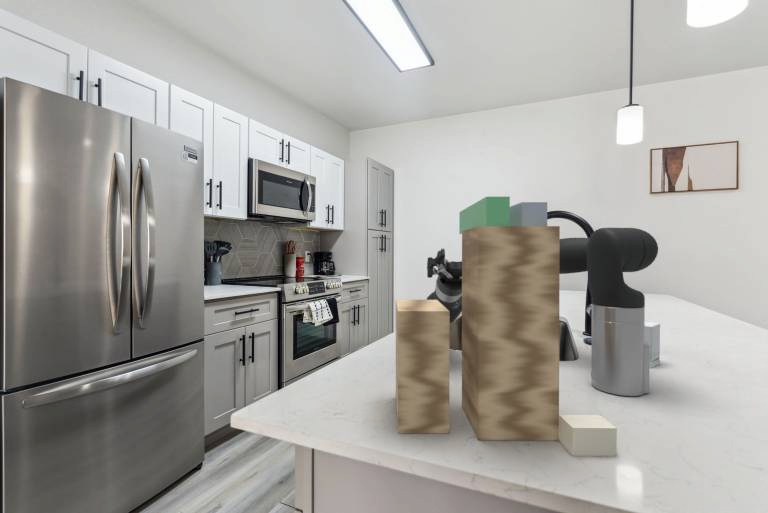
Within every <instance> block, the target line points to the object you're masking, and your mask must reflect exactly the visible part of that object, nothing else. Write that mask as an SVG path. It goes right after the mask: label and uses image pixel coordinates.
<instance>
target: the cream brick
mask: <svg viewBox="0 0 768 513" xmlns="http://www.w3.org/2000/svg"><path fill="white" fill-rule="evenodd" d="M617 430H618V428H617V427H616V426H614V424H612V423H611V422H609V421H608V420H606V419H605V418H604V417H603V416H601V415H600V414H597V415H596V414H591V415H589V414H559V440H558V441H559V442H560V443H561V444H562V445H563V447H564V448H565V449H566V450H567V451H568V453H570V454H571V456H573V457H575V456H577V457H593V456H594V457H617V456H618V455H617V454H618V453H617V452H618V451H617V449H618V448H617V435H618V434H617V432H618V431H617Z"/></svg>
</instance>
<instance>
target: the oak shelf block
mask: <svg viewBox="0 0 768 513" xmlns="http://www.w3.org/2000/svg"><path fill="white" fill-rule="evenodd" d="M560 227H561V226H559V225H550V226H549V225H547V226H478V227H475V228H472V229H468V230H465V231H462V234H461V261H462V312H461V408H462V410H463V411H464V413H465V416H466V418H467V420H468V421H469V424H470V426H471V428H472V430H473V432H474V434H475V436H476V438H477V440H478V441H559V415H560V274H559V267H560V239H561V238H560V236H561V235H560V234H561V230H560V229H561V228H560Z"/></svg>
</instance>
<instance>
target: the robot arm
mask: <svg viewBox="0 0 768 513" xmlns="http://www.w3.org/2000/svg"><path fill="white" fill-rule="evenodd" d="M658 245H659V244H658V242H657V240H656V238H655V237H654V236H653V235H651V233H649V232H647V231H645V230H644V229H640V228H636V227H600V228H597V229H595V230H594V231H593V232H592V233H591V234H590V237H566V238H565V237H564V238H560V267H559V275H567V274H576V273H585V272H587V283H588V284H587V286H588V289H589V293H590V296H591V349H590V350H591V351H590V352H591V360H590V361H591V364H590V366H591V367H590V368H591V369H590V370H591V371H590V372H591V373H590V378H591V382H590V383H591V386H593V388H595V389H597V390H599V391H602V392H604V393H608V394H613V395H618V396H624V397H638V396H643V395H645V394H650V377H651V376H650V373H651V372H650V369H651V368H650V347H649V345H647V344H645V322H644V321H646V320H645V319H646V318H645V315H646V314H645V311H646V308H645V306H646V305H645V304H646V300H645V299H646V298H645V294H644V293H643V292H642V291H640V290H638V289H635V288H632V287H630V286H629V285H628V284H627V283H626V282H625V279H624V273H636V272H639V271H642V270H643V271H644V269H646V268H648V267H649V266H650V265H652V264H653V262H655V260H656V259H657V256H658V253H659V246H658ZM426 274H427V278H430V279H431V278H433V276H436V275H437V278H436V279H435V280H436V281H435V289H434V291H432V292H431V293H430V294H429V295H428V296H427V298H426V299H425V300H438V301H439V302H440V303H441V304H442V305H443V306H444V307H445V308H447V309H448V310H449V311H450V325H451V324H452V323H454V322H455V321H456V320H457V318H458V317H459V316H460V314H462V260H461V261H449V260H448V259H446V252H445V248H441V249H440V250H438V251H437V253H436V256H435V258H433V257H432V256H429V257H428V258H427V263H426Z"/></svg>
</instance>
